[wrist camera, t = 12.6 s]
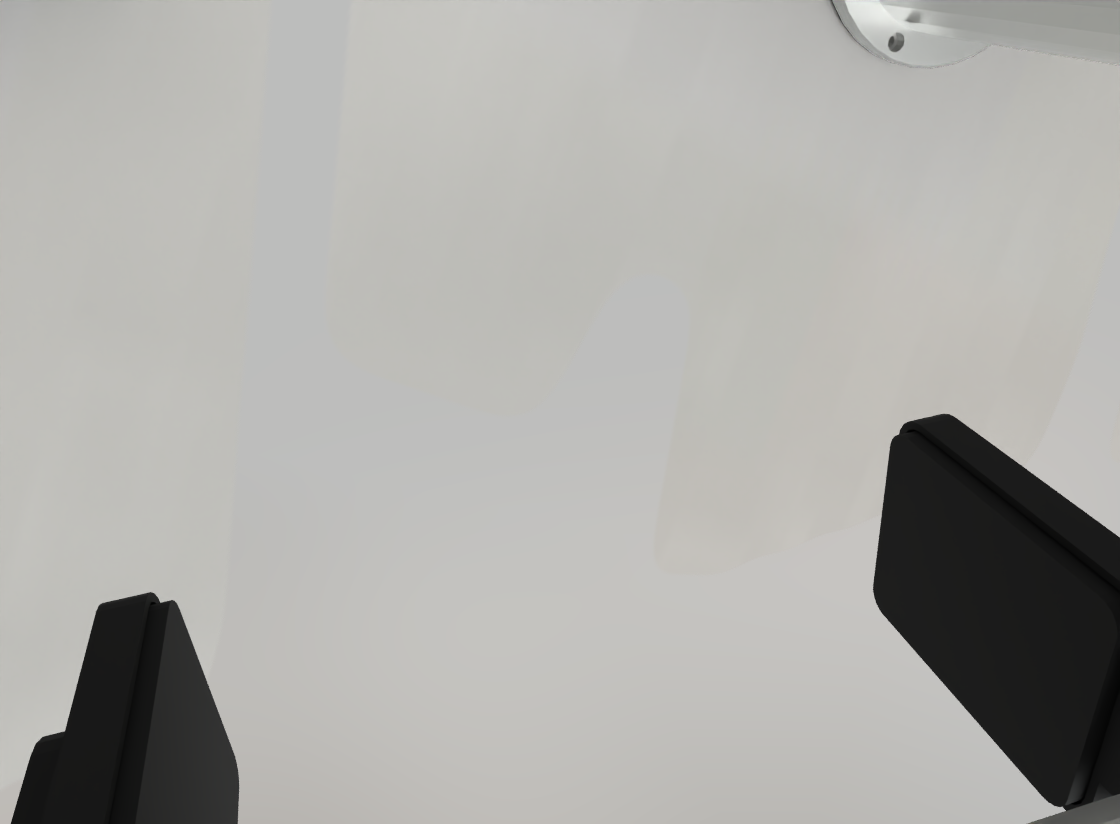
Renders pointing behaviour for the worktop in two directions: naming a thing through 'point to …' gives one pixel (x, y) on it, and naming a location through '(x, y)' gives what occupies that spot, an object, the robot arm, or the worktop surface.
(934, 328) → the worktop surface
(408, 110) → the worktop surface
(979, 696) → the robot arm
